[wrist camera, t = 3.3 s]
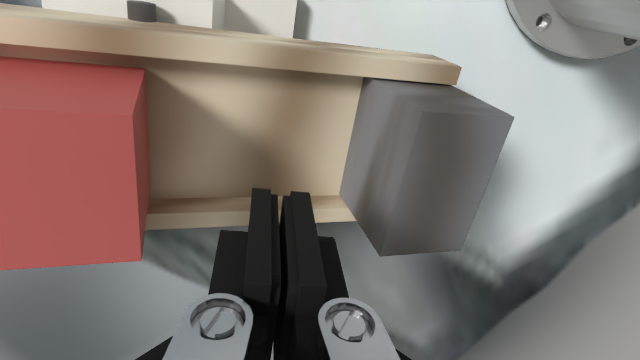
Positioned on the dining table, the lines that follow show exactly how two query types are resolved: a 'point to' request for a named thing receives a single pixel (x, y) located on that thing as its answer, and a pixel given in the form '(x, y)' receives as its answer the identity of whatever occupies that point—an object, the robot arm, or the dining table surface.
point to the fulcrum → (201, 13)
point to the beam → (288, 124)
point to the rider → (72, 163)
